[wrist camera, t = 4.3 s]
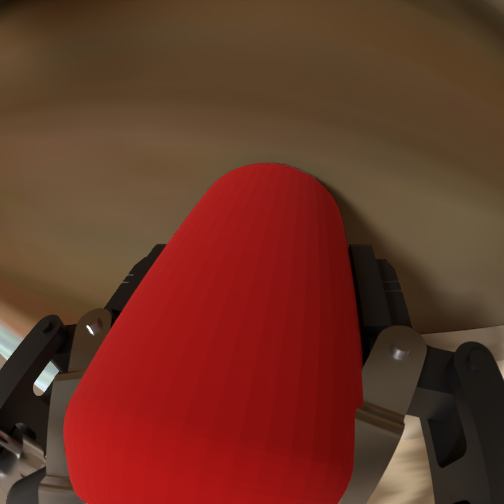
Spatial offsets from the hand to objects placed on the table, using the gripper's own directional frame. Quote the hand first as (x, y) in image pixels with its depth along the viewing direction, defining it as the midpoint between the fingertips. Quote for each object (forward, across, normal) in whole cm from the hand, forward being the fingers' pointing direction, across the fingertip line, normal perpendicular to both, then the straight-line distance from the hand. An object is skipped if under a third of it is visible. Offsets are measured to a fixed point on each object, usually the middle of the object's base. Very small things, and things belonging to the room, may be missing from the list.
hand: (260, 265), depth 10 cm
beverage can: (+3, 0, 0) cm, 3 cm away
